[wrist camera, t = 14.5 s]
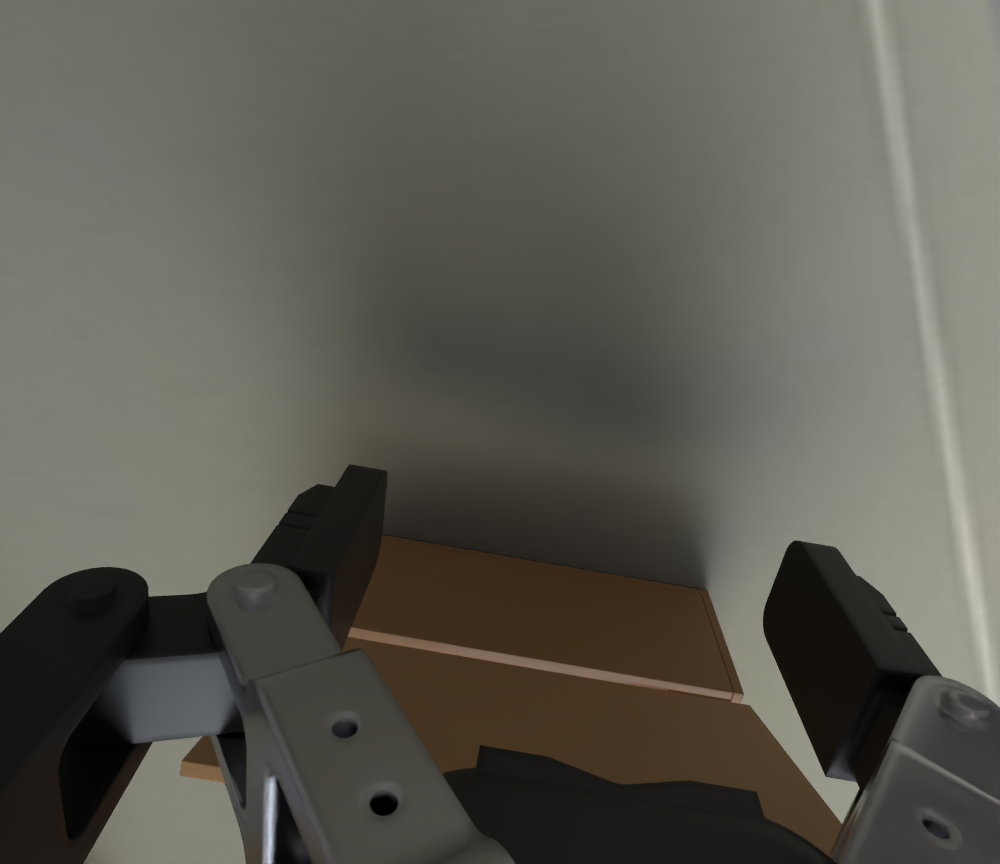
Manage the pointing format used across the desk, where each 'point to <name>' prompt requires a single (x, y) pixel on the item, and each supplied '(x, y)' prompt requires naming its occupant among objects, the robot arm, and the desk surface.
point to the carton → (547, 618)
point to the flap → (584, 730)
